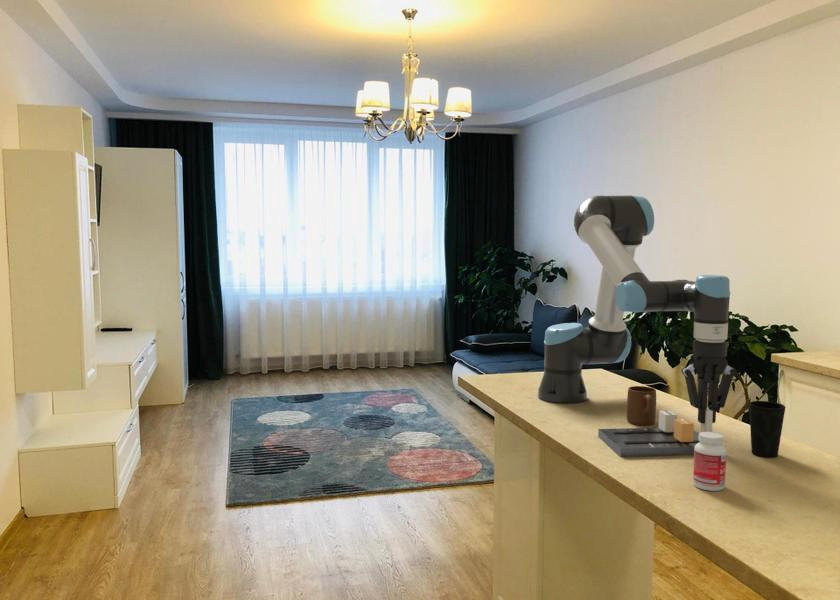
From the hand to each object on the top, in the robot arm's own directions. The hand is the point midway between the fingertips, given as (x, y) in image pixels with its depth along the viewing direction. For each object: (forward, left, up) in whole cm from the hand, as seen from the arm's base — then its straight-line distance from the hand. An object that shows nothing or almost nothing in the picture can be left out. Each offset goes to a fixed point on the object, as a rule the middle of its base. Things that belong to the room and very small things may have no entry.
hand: (705, 435), depth 167 cm
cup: (+5, +12, -4) cm, 14 cm away
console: (-4, -11, -3) cm, 12 cm away
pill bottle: (+24, -11, -4) cm, 26 cm away
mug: (-22, -7, -4) cm, 23 cm away
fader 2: (0, -6, -1) cm, 6 cm away
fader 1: (-8, -6, -1) cm, 10 cm away
